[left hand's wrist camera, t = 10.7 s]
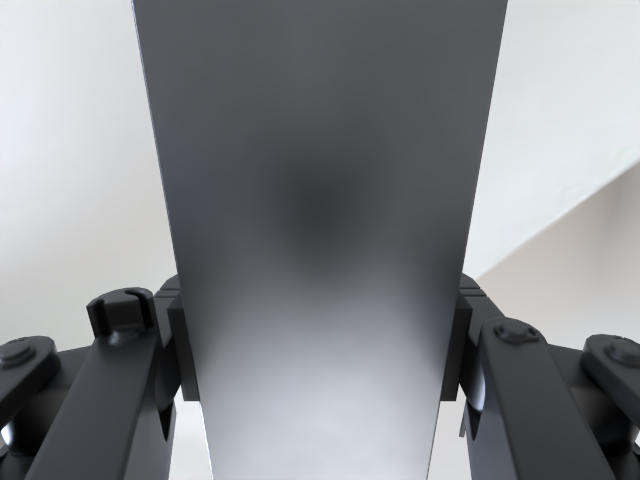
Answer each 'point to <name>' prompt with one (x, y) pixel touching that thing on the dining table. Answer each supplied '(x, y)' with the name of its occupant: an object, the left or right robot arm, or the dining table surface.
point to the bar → (319, 217)
